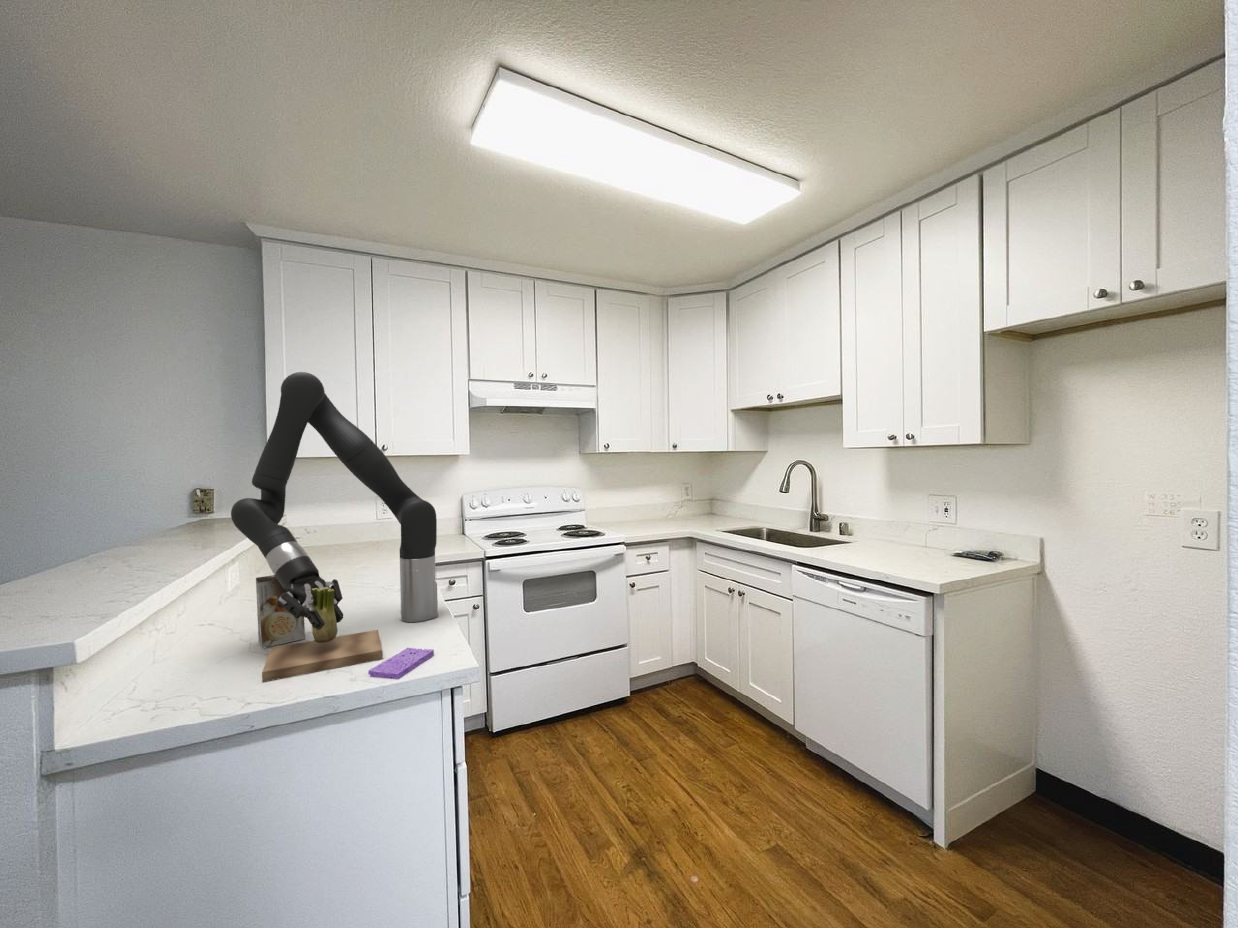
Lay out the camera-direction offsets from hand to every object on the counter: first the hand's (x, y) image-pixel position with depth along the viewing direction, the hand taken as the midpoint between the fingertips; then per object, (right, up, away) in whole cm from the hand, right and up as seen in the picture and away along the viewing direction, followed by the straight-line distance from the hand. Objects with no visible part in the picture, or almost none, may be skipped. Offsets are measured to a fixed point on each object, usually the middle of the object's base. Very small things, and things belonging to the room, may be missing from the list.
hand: (330, 623), depth 112 cm
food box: (-19, -8, +12) cm, 24 cm away
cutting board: (-2, -8, +1) cm, 8 cm away
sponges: (+18, -9, -4) cm, 20 cm away
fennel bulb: (-2, -4, +1) cm, 5 cm away
